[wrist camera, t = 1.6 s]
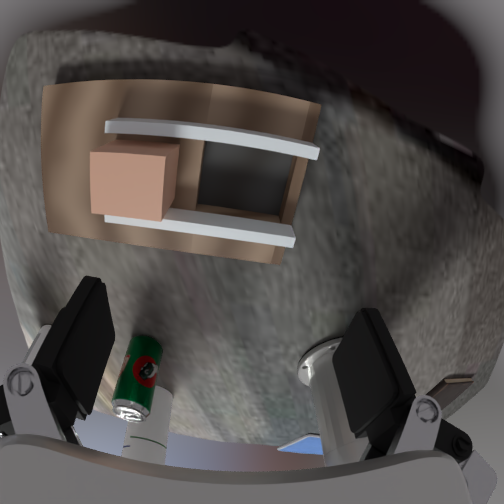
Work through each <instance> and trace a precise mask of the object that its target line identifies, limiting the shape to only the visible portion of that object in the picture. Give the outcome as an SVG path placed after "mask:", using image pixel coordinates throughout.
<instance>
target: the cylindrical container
mask: <svg viewBox="0 0 504 504" xmlns="http://www.w3.org/2000/svg"><path fill="white" fill-rule="evenodd" d="M172 401H173V395H172V394H171V393H170V392H169V391H168V390H166V389H164V388H162V387H160V386H157V385H156V386H155V391H154V397H153V402H152V407H151V413H150V415H149V416H148V417H147V418H146V421H145V422H142V423H135V422H130V421H128V425H127V430H126V435H125V440H124V445H123V450H122V455H121V457H125V458H129V459H134V460H138V461H143V462H149V463H154V464H160V465H165V455H166V448H167V439H168V431H169V423H170V416H171V408H172Z"/></svg>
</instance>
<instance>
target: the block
mask: <svg viewBox="0 0 504 504" xmlns="http://www.w3.org/2000/svg"><path fill="white" fill-rule="evenodd" d="M179 149H180V144H173V143H163V142H150V141H136V140H117V139H116V140H114V141H111V142H109V143H107V144H105V145H103V146H101V147H98V148H96V149H94V150H92V151H90V195H91V213H94V214H103V215H111V216H119V217H127V218H135V219H143V220H151V221H158V222H161V221H162V220H163V218H164V216H165V214H166V212H167V211H168V209H169V207H170V205H171V204H172V202H173V200H174V198H175V188H176V177H177V167H178V158H179Z"/></svg>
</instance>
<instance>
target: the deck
mask: <svg viewBox="0 0 504 504" xmlns="http://www.w3.org/2000/svg"><path fill="white" fill-rule="evenodd" d="M320 109H321V105H320V104H317V103H313V102H309V101H305V100H301V99H297V98H292V97H288V96H283V95H279V94H274V93H269V92H264V91H258V90H252V89H246V88H240V87H233V86H226V85H218V84H210V83H200V82H189V81H174V80H150V79H120V80H96V81H83V82H72V83H63V84H55V85H48V86H44V87H43V98H42V115H41V163H42V180H43V192H44V202H45V210H46V218H47V224H48V231H49V232H52V233H59V234H65V235H72V236H79V237H85V238H92V239H99V240H106V241H112V242H119V243H126V244H133V245H140V246H147V247H154V248H161V249H168V250H175V251H182V252H189V253H196V254H204V255H211V256H218V257H225V258H233V259H240V260H248V261H255V262H263V263H270V264H278V265H280V264H281V261H282V257H283V254H284V250H285V247H283V246H276V245H269V244H262V243H255V242H248V241H241V240H234V239H227V238H220V237H213V236H206V235H198V234H191V233H184V232H176V231H169V230H162V229H154V228H147V227H139V226H131V225H124V224H116V223H108V222H105V217H104V215H103V214H94V213H91V195H90V151H92V150H94V149H96V148H98V147H101V146H103V145H105V144H107V143H109V142H111V141H114V140H116V139H117V140H136V141H150V142H163V143H173V144H180V149H179V158H178V167H177V177H176V188H175V198H174V200H173V202H172V204H171V205H170V207H169V208H176V209H183V210H191V211H199V212H206V213H213V214H220V215H227V216H234V217H241V218H248V219H254V220H261V221H267V222H273V223H280V224H286V225H291V224H292V221H293V217H294V213H295V209H296V206H297V202H298V198H299V194H300V190H301V187H302V183H303V179H304V175H305V171H306V167H307V163H308V159H309V158H304V157H300V156H295V155H290V154H285V153H280V152H275V151H270V150H264V149H259V148H253V147H247V146H241V145H234V144H227V143H220V142H213V141H205V140H197V139H188V138H178V137H168V136H155V135H141V134H121V133H105V121H107V120H111V119H115V118H141V119H159V120H172V121H183V122H193V123H202V124H211V125H218V126H226V127H232V128H239V129H245V130H251V131H257V132H263V133H268V134H273V135H278V136H283V137H288V138H293V139H297V140H302V141H306V142H310V143H313V139H314V134H315V130H316V126H317V122H318V118H319V113H320Z"/></svg>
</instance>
